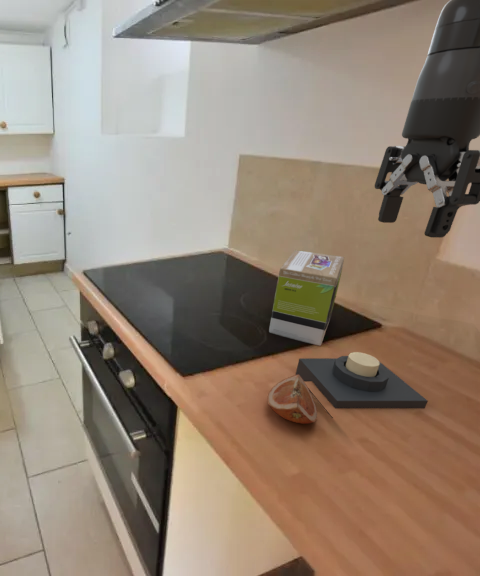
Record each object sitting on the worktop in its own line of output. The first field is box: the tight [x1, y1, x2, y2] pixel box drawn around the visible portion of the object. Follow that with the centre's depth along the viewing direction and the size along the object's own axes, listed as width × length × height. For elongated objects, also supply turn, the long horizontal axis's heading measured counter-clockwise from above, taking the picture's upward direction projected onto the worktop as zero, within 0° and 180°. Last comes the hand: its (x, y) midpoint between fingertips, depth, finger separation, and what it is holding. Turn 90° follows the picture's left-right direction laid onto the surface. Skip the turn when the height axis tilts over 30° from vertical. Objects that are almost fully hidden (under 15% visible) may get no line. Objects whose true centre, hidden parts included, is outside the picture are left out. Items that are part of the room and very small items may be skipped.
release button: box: [346, 351, 381, 377], centre depth 58 cm, size 4×4×2 cm
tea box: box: [268, 249, 345, 347], centre depth 79 cm, size 15×10×15 cm, turn 144°
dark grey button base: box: [295, 355, 428, 419], centre depth 60 cm, size 13×11×5 cm
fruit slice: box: [267, 374, 318, 425], centre depth 55 cm, size 8×7×5 cm
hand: (408, 228), depth 52 cm, fingers open, 8 cm apart
